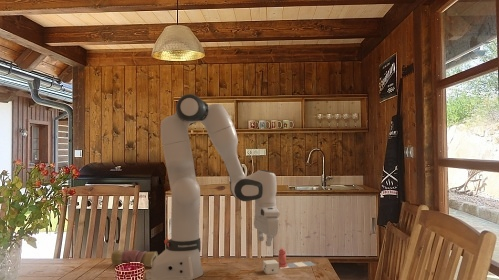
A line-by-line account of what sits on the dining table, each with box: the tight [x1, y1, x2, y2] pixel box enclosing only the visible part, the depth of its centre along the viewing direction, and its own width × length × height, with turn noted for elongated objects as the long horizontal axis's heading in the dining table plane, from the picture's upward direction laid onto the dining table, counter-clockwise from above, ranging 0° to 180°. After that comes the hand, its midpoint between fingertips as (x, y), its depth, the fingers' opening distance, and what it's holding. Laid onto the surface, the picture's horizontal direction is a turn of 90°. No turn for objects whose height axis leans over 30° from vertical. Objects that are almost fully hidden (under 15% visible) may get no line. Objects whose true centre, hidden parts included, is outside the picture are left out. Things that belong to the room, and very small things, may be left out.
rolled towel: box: [110, 249, 159, 267], centre depth 165 cm, size 8×8×20 cm
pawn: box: [278, 248, 288, 267], centre depth 159 cm, size 4×4×7 cm
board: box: [279, 260, 316, 270], centre depth 161 cm, size 16×6×1 cm, turn 106°
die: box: [262, 259, 280, 275], centre depth 152 cm, size 6×5×5 cm
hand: (264, 243), depth 157 cm, fingers open, 8 cm apart
